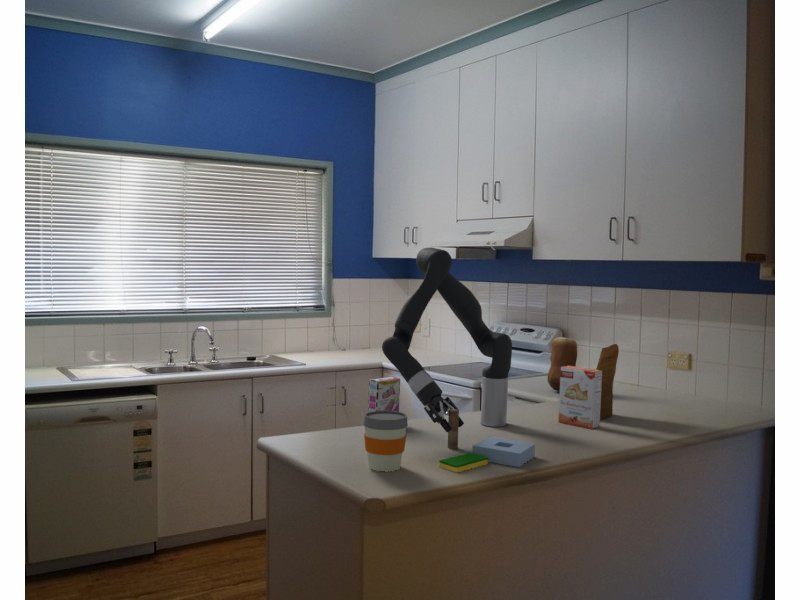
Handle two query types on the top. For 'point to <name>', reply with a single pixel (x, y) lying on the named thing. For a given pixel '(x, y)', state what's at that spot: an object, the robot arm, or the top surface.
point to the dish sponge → (463, 462)
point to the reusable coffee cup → (385, 439)
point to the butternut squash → (561, 359)
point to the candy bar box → (384, 394)
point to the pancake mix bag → (607, 378)
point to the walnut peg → (453, 429)
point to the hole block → (505, 451)
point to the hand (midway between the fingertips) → (456, 428)
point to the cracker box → (580, 396)
